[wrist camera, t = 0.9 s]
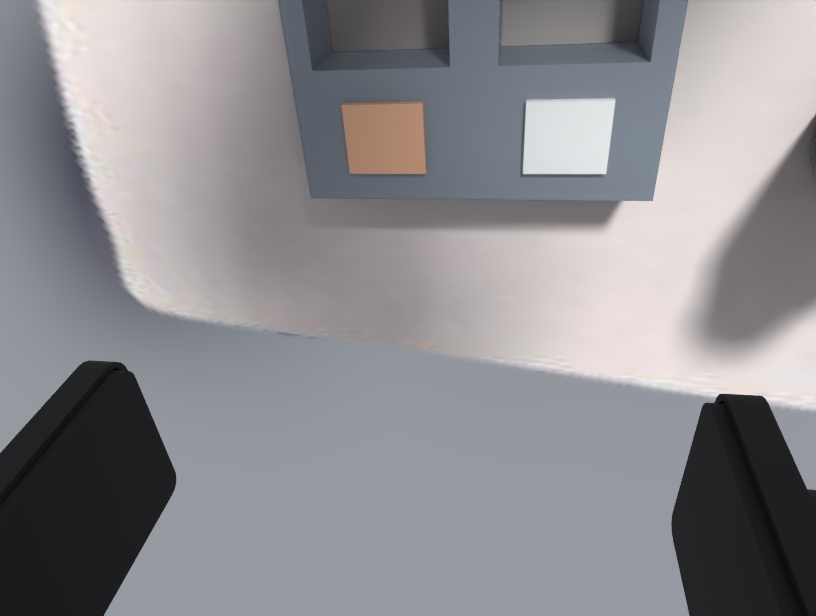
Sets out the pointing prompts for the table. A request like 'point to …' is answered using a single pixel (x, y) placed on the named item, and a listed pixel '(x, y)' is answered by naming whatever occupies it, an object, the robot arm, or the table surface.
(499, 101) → the socket block
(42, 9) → the table surface
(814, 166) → the supplement bottle
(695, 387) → the table surface
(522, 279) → the table surface
